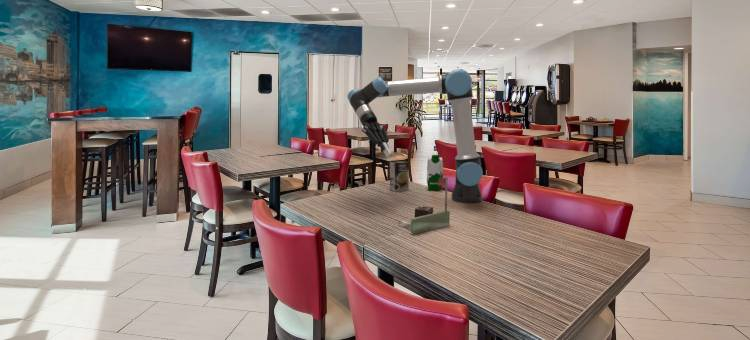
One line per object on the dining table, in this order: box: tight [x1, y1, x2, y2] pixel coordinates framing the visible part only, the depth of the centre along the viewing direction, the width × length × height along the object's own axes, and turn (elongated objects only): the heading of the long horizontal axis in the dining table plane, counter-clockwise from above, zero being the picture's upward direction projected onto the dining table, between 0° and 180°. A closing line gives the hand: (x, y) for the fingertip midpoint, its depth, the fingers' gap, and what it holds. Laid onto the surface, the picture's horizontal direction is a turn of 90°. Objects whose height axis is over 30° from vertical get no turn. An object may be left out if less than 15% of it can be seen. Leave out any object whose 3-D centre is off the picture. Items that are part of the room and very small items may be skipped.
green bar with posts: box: [398, 176, 451, 235], centre depth 176 cm, size 13×20×20 cm, turn 128°
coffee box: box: [389, 160, 410, 193], centre depth 244 cm, size 9×6×16 cm
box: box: [414, 205, 434, 218], centre depth 178 cm, size 6×6×7 cm
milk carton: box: [426, 154, 444, 192], centre depth 245 cm, size 9×9×20 cm
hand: (389, 155), depth 196 cm, fingers closed
